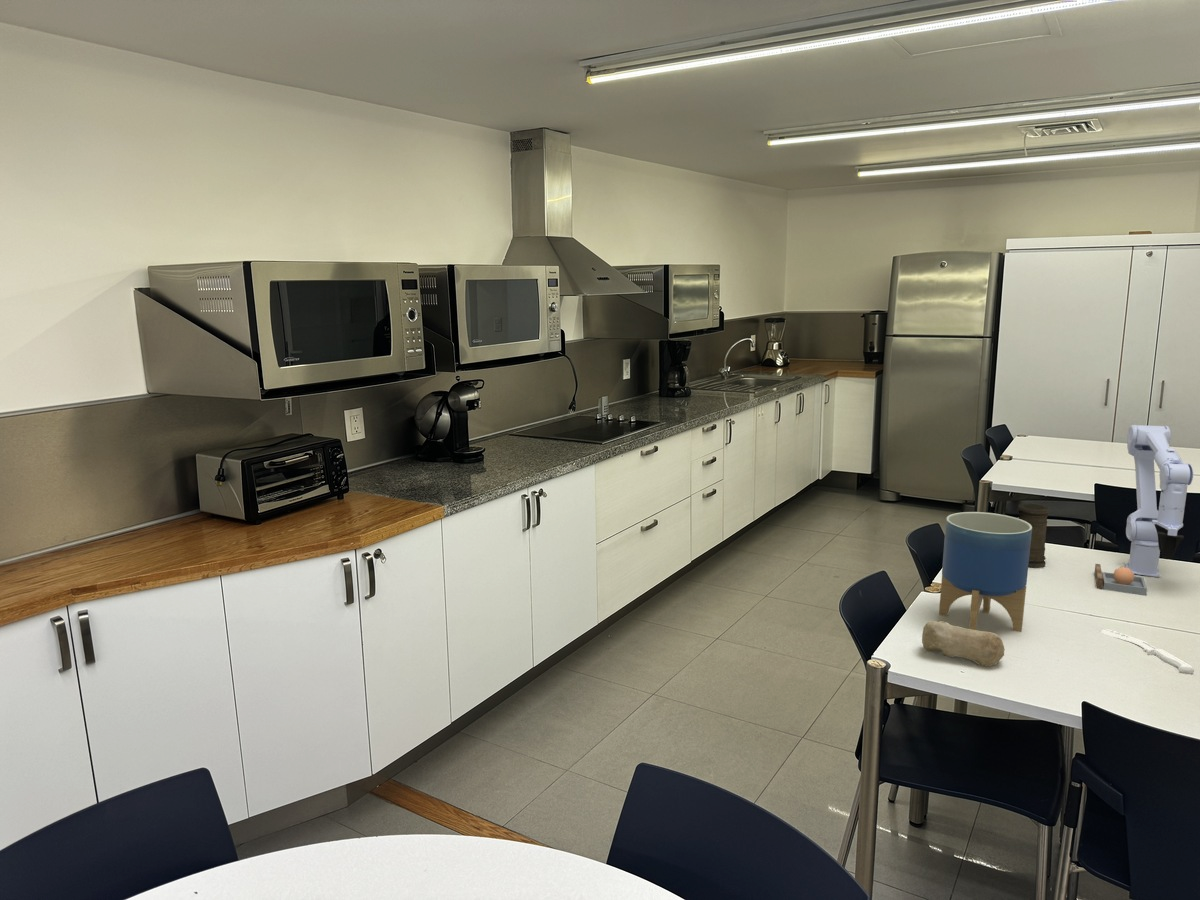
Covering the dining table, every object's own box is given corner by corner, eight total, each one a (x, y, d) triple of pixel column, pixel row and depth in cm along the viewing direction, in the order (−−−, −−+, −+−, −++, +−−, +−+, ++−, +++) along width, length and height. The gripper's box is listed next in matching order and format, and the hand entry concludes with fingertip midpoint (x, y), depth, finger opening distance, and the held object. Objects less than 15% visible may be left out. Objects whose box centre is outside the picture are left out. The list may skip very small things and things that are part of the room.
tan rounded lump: (927, 627, 196) (923, 607, 189) (1006, 641, 188) (1006, 621, 181) (921, 660, 192) (917, 641, 185) (1002, 676, 183) (1001, 656, 176)
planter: (948, 602, 220) (955, 507, 215) (1027, 618, 209) (1037, 519, 204) (930, 626, 204) (937, 525, 199) (1014, 645, 193) (1025, 538, 188)
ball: (1112, 580, 234) (1113, 563, 233) (1132, 583, 231) (1134, 566, 231) (1112, 585, 230) (1114, 568, 229) (1133, 588, 227) (1135, 571, 226)
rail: (1094, 573, 241) (1095, 563, 241) (1099, 573, 241) (1100, 564, 240) (1096, 588, 229) (1098, 578, 229) (1101, 589, 229) (1103, 579, 228)
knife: (1077, 618, 208) (1107, 617, 208) (1077, 624, 208) (1107, 623, 208) (1161, 668, 178) (1196, 667, 178) (1160, 675, 178) (1195, 674, 179)
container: (1050, 568, 246) (1056, 510, 242) (1020, 568, 246) (1026, 510, 243) (1035, 558, 255) (1041, 502, 251) (1006, 558, 255) (1011, 502, 251)
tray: (1101, 578, 237) (1102, 571, 237) (1142, 584, 233) (1143, 577, 232) (1103, 589, 229) (1104, 582, 228) (1146, 595, 224) (1147, 588, 224)
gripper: (1151, 499, 232) (1145, 545, 234) (1157, 511, 219) (1151, 559, 222) (1181, 502, 228) (1175, 548, 231) (1189, 514, 216) (1182, 563, 218)
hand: (1165, 554), depth 226 cm, fingers open, 7 cm apart
